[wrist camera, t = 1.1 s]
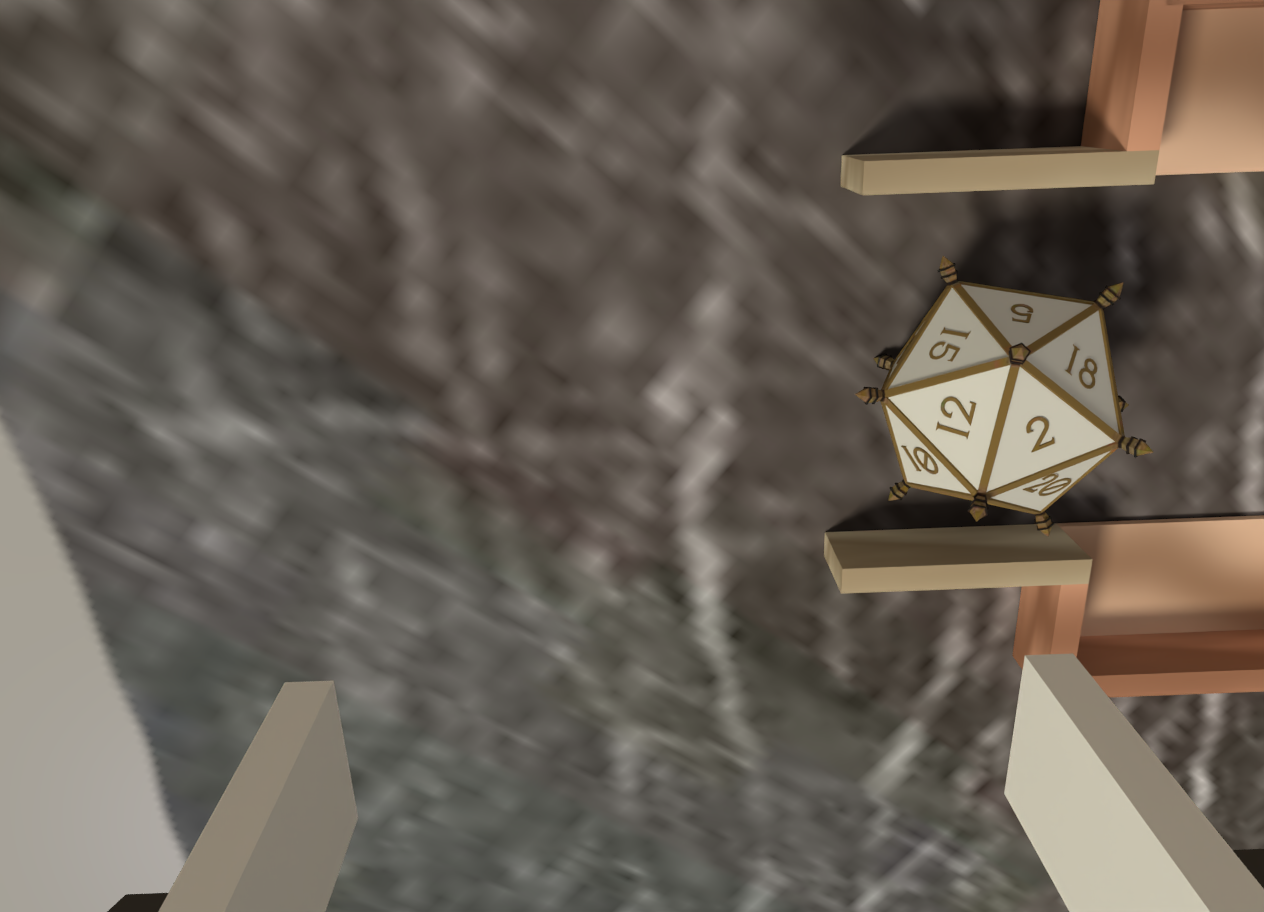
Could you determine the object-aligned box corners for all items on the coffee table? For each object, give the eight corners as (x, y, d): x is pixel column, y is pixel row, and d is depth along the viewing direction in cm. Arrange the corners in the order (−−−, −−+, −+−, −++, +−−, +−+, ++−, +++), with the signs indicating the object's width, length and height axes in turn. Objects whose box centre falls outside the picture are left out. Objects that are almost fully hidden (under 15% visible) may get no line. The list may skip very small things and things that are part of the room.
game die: (973, 325, 37) (1244, 401, 30) (860, 505, 37) (1110, 625, 29) (888, 184, 31) (1206, 237, 24) (751, 398, 30) (1035, 518, 23)
